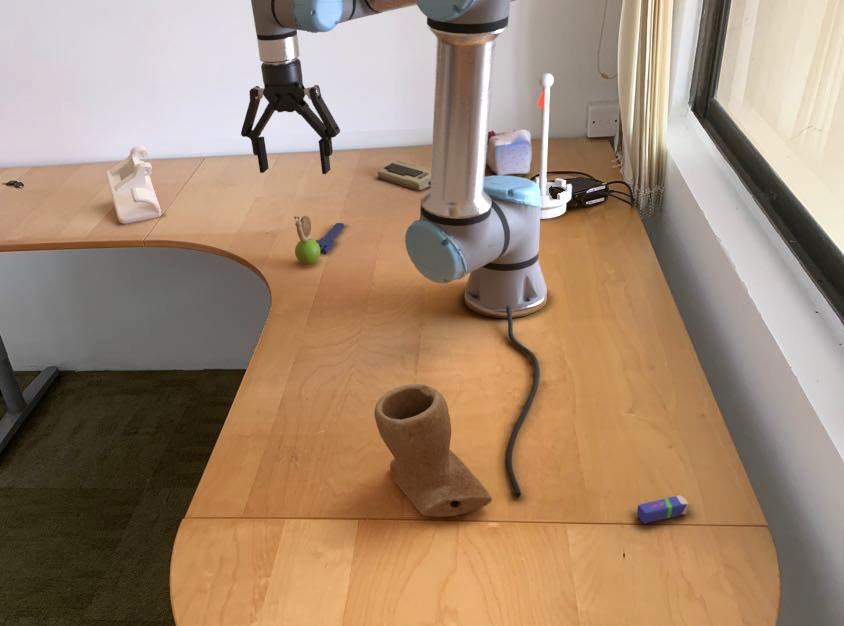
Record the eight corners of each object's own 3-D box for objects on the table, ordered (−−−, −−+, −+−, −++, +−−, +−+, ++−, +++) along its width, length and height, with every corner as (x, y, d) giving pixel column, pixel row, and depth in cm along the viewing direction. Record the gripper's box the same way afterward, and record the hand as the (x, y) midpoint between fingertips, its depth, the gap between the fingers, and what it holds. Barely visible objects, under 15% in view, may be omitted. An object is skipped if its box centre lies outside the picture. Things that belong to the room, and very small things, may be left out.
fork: (326, 254, 184) (325, 250, 183) (308, 252, 185) (308, 249, 185) (348, 226, 195) (348, 223, 195) (331, 226, 197) (331, 222, 196)
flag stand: (524, 196, 201) (528, 64, 184) (578, 202, 195) (587, 66, 178) (503, 216, 192) (505, 79, 175) (559, 223, 186) (566, 82, 169)
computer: (377, 179, 220) (376, 166, 218) (400, 170, 224) (399, 158, 222) (419, 191, 210) (418, 178, 208) (442, 182, 214) (441, 169, 212)
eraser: (687, 515, 107) (689, 503, 106) (644, 525, 106) (645, 513, 105) (679, 505, 108) (681, 493, 107) (636, 515, 108) (637, 503, 106)
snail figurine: (291, 270, 179) (283, 216, 172) (301, 257, 184) (294, 204, 177) (315, 271, 177) (308, 217, 170) (325, 258, 182) (318, 205, 175)
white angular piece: (167, 230, 217) (161, 194, 206) (123, 239, 215) (114, 203, 203) (150, 175, 226) (143, 138, 215) (107, 184, 224) (98, 146, 212)
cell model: (492, 139, 204) (472, 119, 221) (492, 182, 210) (473, 159, 227) (544, 131, 205) (521, 112, 222) (543, 175, 211) (520, 153, 227)
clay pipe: (369, 471, 120) (360, 383, 112) (445, 448, 123) (441, 361, 114) (411, 538, 108) (404, 445, 100) (494, 511, 111) (494, 418, 102)
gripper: (349, 53, 157) (359, 165, 169) (229, 57, 165) (247, 164, 177) (335, 63, 151) (347, 178, 163) (212, 66, 159) (231, 176, 171)
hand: (295, 171), depth 170 cm, fingers open, 13 cm apart
